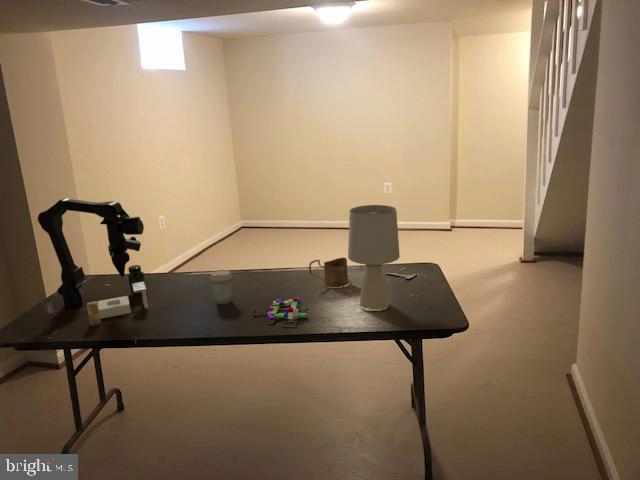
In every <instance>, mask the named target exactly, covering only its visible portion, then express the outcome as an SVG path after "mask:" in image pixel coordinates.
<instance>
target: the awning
mask: <svg viewBox="0 0 640 480" xmlns="http://www.w3.org/2000/svg"><path fill="white" fill-rule="evenodd" d="M132 286H133V290H134V293H137V292H142V295H141V298H142V303H143V307H144V309H145V310H147V309H149V304H148V298H147V293H146V288H147V286H146V287H145V284H144V282H140V283H134V284H132Z"/></svg>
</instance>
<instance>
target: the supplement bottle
mask: <svg viewBox="0 0 640 480" xmlns="http://www.w3.org/2000/svg"><path fill="white" fill-rule="evenodd" d="M127 269H128V273H127V276H126V278H127V284H128V291H129V295H130V296H131V297H142V292H137V293H134V290H133V286H132V284H134V283H140V282H144V284H145V287H146V294H147V292H148V289H147V283H146V277H145V273H144V272H143V271H142V268H141V265H140V264H139V265H138V264H134V265H130V266H129V267H128V268H127Z"/></svg>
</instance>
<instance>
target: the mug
mask: <svg viewBox="0 0 640 480" xmlns="http://www.w3.org/2000/svg"><path fill="white" fill-rule="evenodd" d="M316 262H317V264H318V265H319V267H321V268H322V269H323V268H324V269H323V270H324V272H323V273H324V278H322V277H321V276H319V275H315V274H313V272H312V264H314V263H316ZM320 262H321V261H320V259H315V260H311V261H310V263H309V264H308V269H309V273H310V275H311V276H313V277H315V278H318V279H320V280H322V281H323V282H322V285H323V284H324V285H325V286H329V287H340V286H344V285H346V284H348V283H349V281H350V280H349V277H348V259H347V258H346V257H339V258H335V259H331V260H329V261H325V262H323V265H321V263H320Z"/></svg>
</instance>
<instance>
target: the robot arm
mask: <svg viewBox="0 0 640 480" xmlns="http://www.w3.org/2000/svg"><path fill="white" fill-rule="evenodd" d="M67 211H71V212H80V213H87V214H94V215H96V216H98V217H100V218H103V219H102V220H101V221H100V222H99V223H100V225H106V233H107V240H108V246H107V249H108V250H107V251H108V253H109V256H110V258H111V263H112V265H113V267H114V268H115V269H116V270H117V272H118V275H120V277H121V278H123V277H125V273H126V265H127V263H128V262H130V261H131V259H130V254H129V252H128V250H131V251H135V252H140V249H141V244H142V243H141V241H140V240H137V238H136V236H137V235H139V236H140V235H142V234H144V229H145V228H144V227H145V226H144V223H143V221H142V220H141V217H140V216H133V217H132V216H131V217H130V215H129V214H128V212H126V211H125V209H124V208H123V206H122V205H121V203H120V202H119V201H113V200H112V201H102V202H97V201H95V202H94V201H88V200H87V201H86V200H81V199H80V200H79V199H74V198H73V199H72V198H68V197H64V198H62V199H59V200H58V201H57V202H56V203H54V205H52V206H51V207H49V208H48V209H46V210H44V211H41V212H39V214H38V215H37V221H38V223H39V225H40V227H41V229H42V230H43V231H45V232H46V234H47V235H48V236H49V238H50V242H51V244H52V246H53V250H54V251H55V254H56V257H57V260H58V262H59V265H60V267H61V271H60V272H61V273H60V278H61V280H60V281H61V285H60V286H59V287H58V288H57V290H56V291H57V293H58V295H59V296H62V300H63V306H64V307H63V310H68V309H73V308H74V309H75V308H79V307H80V308H81V307H82V306H83V304H84V298H83V293H82V291H81V290H80V288H82V287H83V284H84V282H85V280H86V278H85V276H86V273H84V270H83V267H82V266H78V265H76V264H75V262H74V259H73V256H72V254H71V250H70V248H69V245H68V243H67V240H66V237H65V234H64V232H63V225H64V220H63V216H64V215H65V214H66V212H67ZM125 235H126V236H131V235H133V236H131V237H129V238H126V236H125ZM135 235H136V236H135Z"/></svg>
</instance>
